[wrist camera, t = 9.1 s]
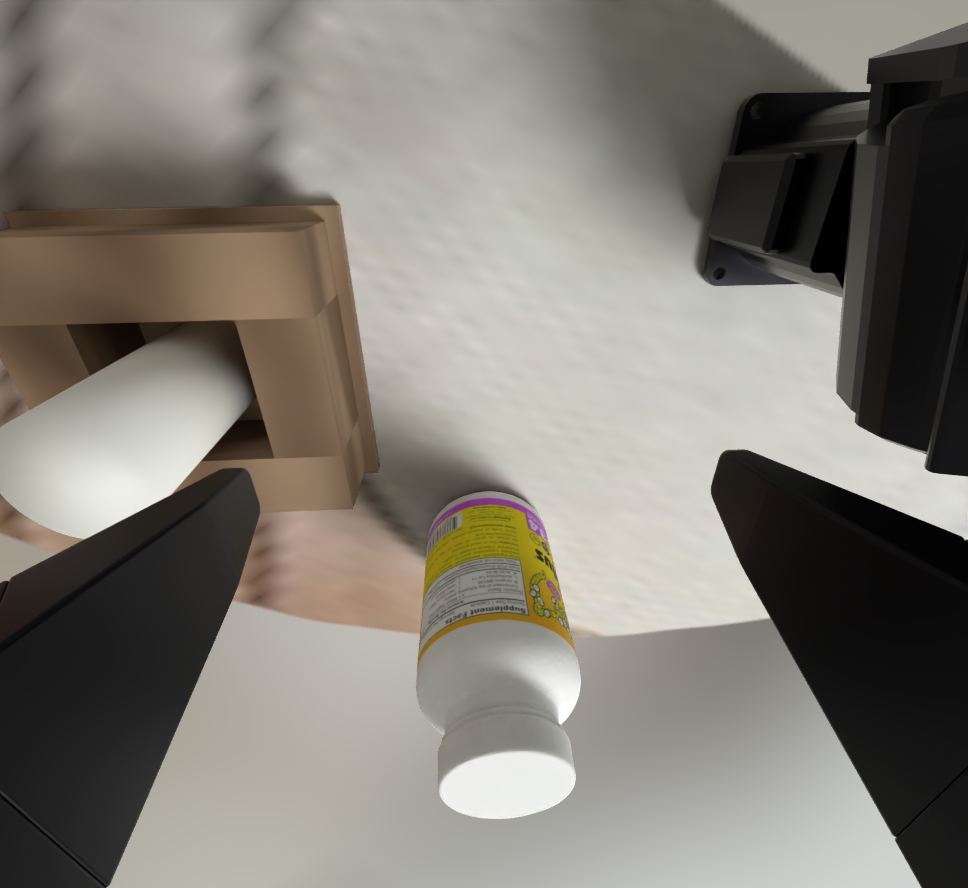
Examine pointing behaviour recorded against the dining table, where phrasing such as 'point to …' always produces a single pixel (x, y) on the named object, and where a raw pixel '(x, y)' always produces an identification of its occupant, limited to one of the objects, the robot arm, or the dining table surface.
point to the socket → (205, 297)
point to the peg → (126, 430)
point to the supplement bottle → (496, 659)
